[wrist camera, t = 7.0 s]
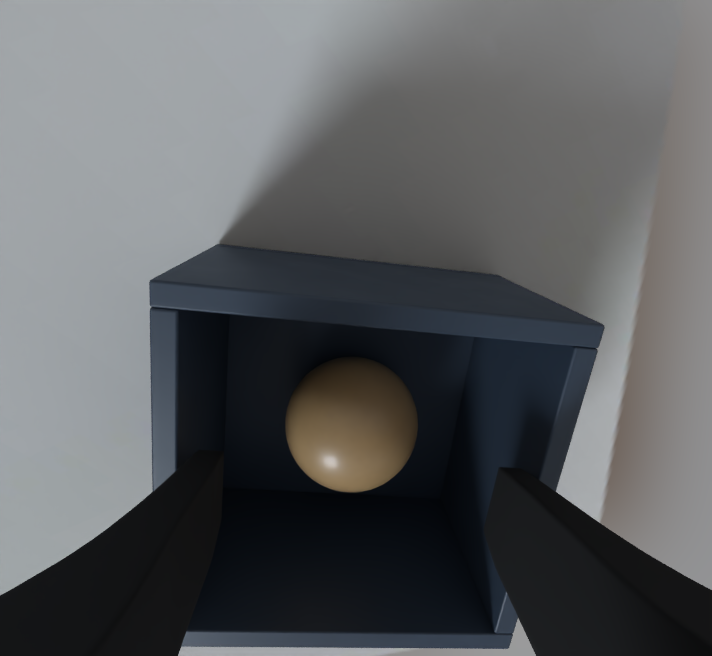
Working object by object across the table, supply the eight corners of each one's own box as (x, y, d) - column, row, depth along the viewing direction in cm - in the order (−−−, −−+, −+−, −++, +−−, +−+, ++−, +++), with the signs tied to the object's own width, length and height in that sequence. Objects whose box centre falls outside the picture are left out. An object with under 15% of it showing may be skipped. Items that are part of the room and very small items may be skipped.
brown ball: (394, 446, 18) (419, 526, 13) (284, 440, 17) (275, 521, 13) (412, 344, 16) (445, 396, 12) (294, 334, 16) (286, 385, 12)
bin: (448, 503, 19) (509, 649, 13) (209, 492, 18) (154, 647, 12) (498, 274, 16) (606, 324, 10) (216, 243, 15) (147, 279, 9)
